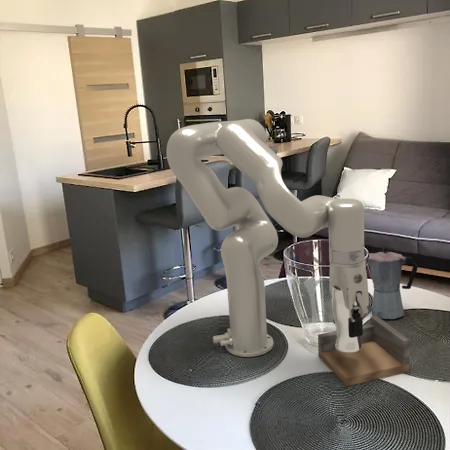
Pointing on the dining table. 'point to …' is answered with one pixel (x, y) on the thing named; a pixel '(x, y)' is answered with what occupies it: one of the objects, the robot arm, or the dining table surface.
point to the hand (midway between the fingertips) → (347, 328)
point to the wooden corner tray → (367, 354)
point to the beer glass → (343, 324)
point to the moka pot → (388, 282)
